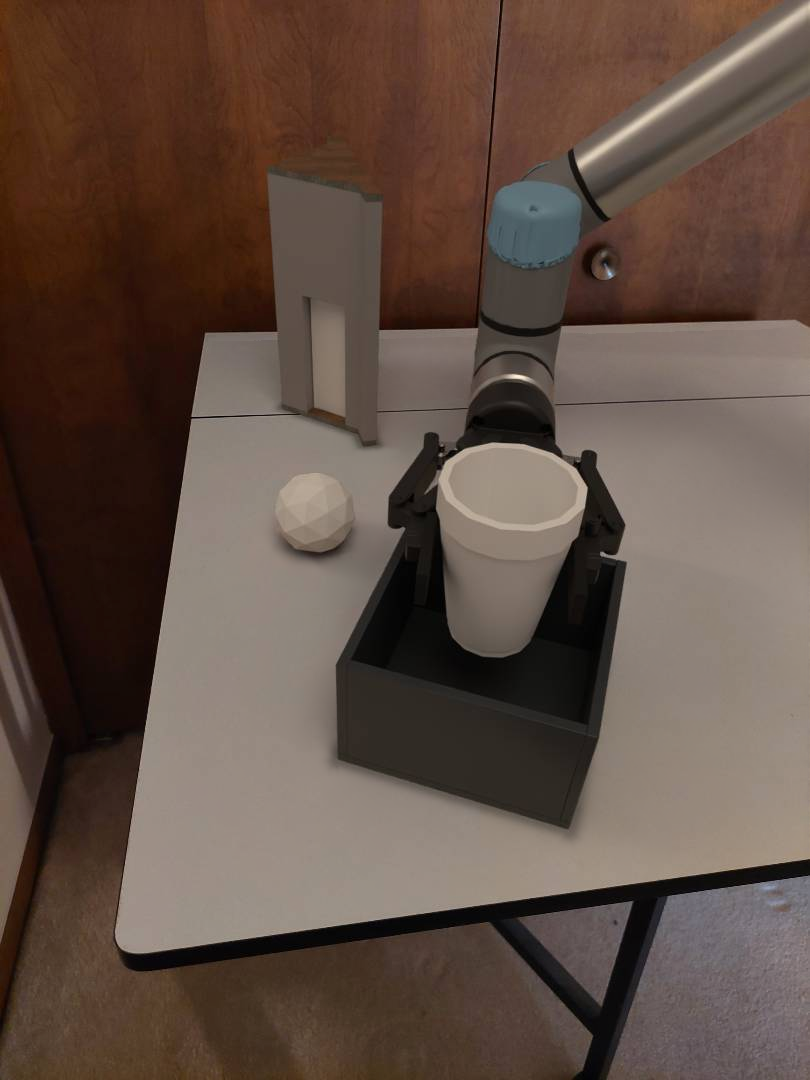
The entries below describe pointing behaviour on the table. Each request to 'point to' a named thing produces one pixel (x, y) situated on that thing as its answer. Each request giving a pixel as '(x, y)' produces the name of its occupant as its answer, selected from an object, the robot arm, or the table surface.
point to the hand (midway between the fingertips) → (498, 599)
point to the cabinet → (327, 285)
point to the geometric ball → (314, 512)
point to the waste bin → (478, 694)
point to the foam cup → (504, 540)
